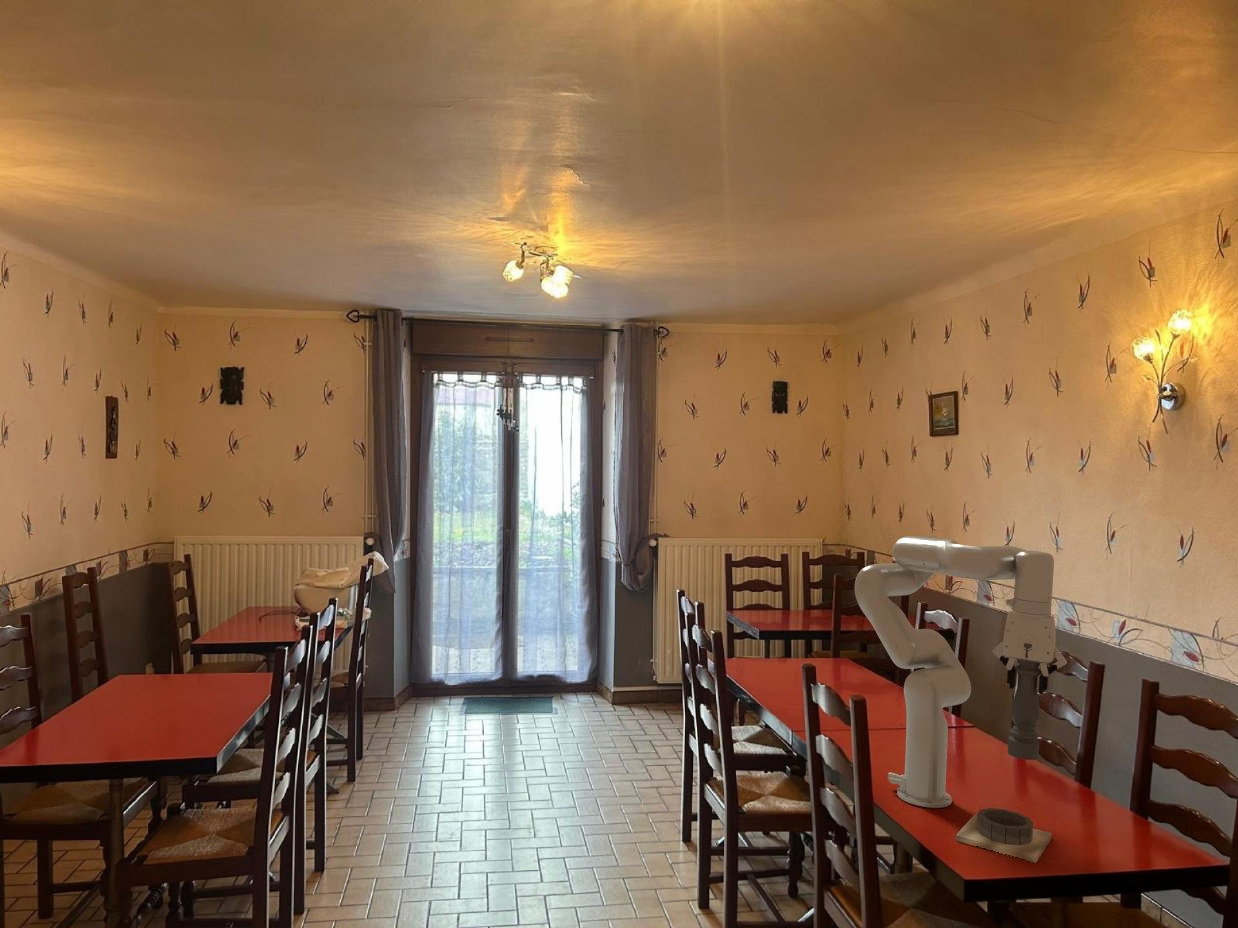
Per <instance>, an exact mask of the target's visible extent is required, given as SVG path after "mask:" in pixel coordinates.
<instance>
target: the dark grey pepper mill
mask: <svg viewBox="0 0 1238 928" xmlns="http://www.w3.org/2000/svg"><path fill="white" fill-rule="evenodd" d="M1024 647H1025V648H1026V650H1025V649H1024V650H1025V651H1026V653H1025V658H1028V651H1030V650H1028V649H1029V648H1032V644H1028V643H1024ZM1031 650H1032V649H1031ZM1017 663H1018V665H1016V666H1015V670H1016V673H1017V675H1018V678H1017V688H1016V690H1015V693H1014V697H1013V700H1012V703H1011V706H1010V710H1009V711H1010V715H1011V718H1012V720H1013V724H1014V725H1013V726H1012V727H1011V728H1010V732H1009V734H1010V735H1009V736H1008V739H1007V740H1008V741H1007V754H1008V755H1010V756H1011V757H1013V758H1017V759H1020V760H1025V761H1035V760H1038V759H1039V754H1040V753H1039V751H1040V741H1039V740H1038V739H1039V734H1038V732H1037V730H1036V729H1035V728H1036V727H1037V724H1038V723H1039V721H1040V719H1041V716H1042V713H1041V707H1040V701H1039V696H1038V695H1039V694H1038V690H1037V688H1038V677H1039V676H1040V675H1041V673H1042V670H1041V668H1039V666H1040V663H1038V662H1032V661H1028V660H1020V659H1017Z"/></svg>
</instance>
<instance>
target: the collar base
mask: <svg viewBox="0 0 1238 928" xmlns="http://www.w3.org/2000/svg"><path fill="white" fill-rule="evenodd" d="M1052 834H1053V833H1052V832H1049V831H1044V830H1041V829H1037V828H1034V822H1033V821H1032V820H1031V819H1030V818H1029V817H1028V816H1026V815H1023V814H1022V813H1019V812H1017V811H1013V810H1009V809H1004V808H994V807H988V808H981V809H980V810H979V811H977V813H974V814H973V816H971V818H970V819H969V820H968V821H967V822H966V823H965V824H964V825H963V827H962V828H961V829H959V831H958V832H957V833H956V834H955V841H956V842H959V843H962V844H966V845H969V846H974V847H976V846H979V847H978V848H980V847H981V848H980V849H983V848H986V849H985V850H987V849H988V851H990V850H993V851H992V852H994V851H995V852H996V853H997V852H999V853H998V854H1001V853H1002V855H1005V854H1007V855H1006V856H1008V855H1011V856H1010V857H1012V856H1014V857H1013V858H1015V857H1019V858H1021V859H1020V860H1022V859H1025V860H1024V861H1026V860H1027V861H1026V862H1029V861H1030V862H1029V863H1033V862H1034V863H1033V864H1037V863H1038V861H1039V860H1040V858H1041V856H1042V855H1043V853H1044V851H1045V850H1046V848H1047V847H1046V846H1048V845H1049V843H1050V842H1051V840H1052ZM995 852H994V853H995ZM1039 857H1040V858H1039ZM1019 858H1018V859H1019ZM1038 859H1039V860H1038ZM1036 862H1037V863H1036Z"/></svg>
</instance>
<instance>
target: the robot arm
mask: <svg viewBox="0 0 1238 928" xmlns="http://www.w3.org/2000/svg"><path fill="white" fill-rule="evenodd" d="M891 556H892V558H893V560H894V562H895V563H893V562H891V563H887V562H886V563H885V562H884V563H874V564H870V565H867V566H865V567H863V568H861V569H860V570H859V572H858V573H857V575H856V578H855V581H854V595H855V599H856V601H857V604H858V606H859V608H860V610H861V611H862V613H863V615H865V617H866V619H867V620H868V621H869V622H870V624H871V625H872V627H873V628H874V631H875V632H876V634H877V636H878V638H879V640H880V642H881V643H882V645H883V647H884V649H885V650H886V652H887V654H888V656H889V657H890V659H891V661H892V662H893V664H895V666H896V667H898V668H900V669H903V670H911V669H917V670H915V671H912V672H911V673H910V674H909V675H908V676H907V677H906V679H905V681H904V685H903V694H904V700H905V707H906V730H905V732H906V734H905V736H906V737H905V757H904V758H905V759H904V760H905V761H904V774H903V773H902V774H901V775H900V774H897V773H895V772H890V771H889V772H888V774H887V780H888V782H889V783H890V784H893V785H898V788H897V789H896V794H897V796H898V798H900V799H901V800H902V801H904V802H906V803H907V804H911V805H914V806H918V807H924V808H930V809H942V808H946V807H947V808H948V807H949V806H950V805H951V804H952V800H953V798H952V796H951V795H950V794H949V793H948V792H946V785H947V784H946V783H947V781H946V779H947V761H948V760H947V759H948V758H947V757H948V735H949V733H948V722H947V719H946V716H945V714H944V710H943V709H944V708H947V707H950V706H951V707H952V706H958V705H960V704H963V703H965V702H966V701H967V700H968V699H969V698H970V696H971V694H972V693H971V692H972V685H971V681H970V677H969V675H968V673H967V672H966V670H965V668H964V666H963V665H962V664H961V662H960V660H959V659H958V657H957V655H956V654H955V652H954V651H953V650H952V647H951V646H950V644H949V643H948V641H947V640H946V638H945V637H944V636H942V634H940V633H939V632H938V631H936V630H934V629H931V628H921V629H919V628H917V629H916V628H915V627H913V625H912V624H911V623H910V621H909V619H908V618H907V615H906V614H905V613H904V612H903V610H902V609H901V608H900V607H899V606H898V605H897V604H896V603H895V602H893V601H892V600H891V599H890V598H889V597H899V596H900V597H901V596H909V595H911V594H914V593H915V592H917V591H919V589H920V588H921V587H923V586H924V585H925V584H926V583H927V582H928V581H929V580H930V579H931V578H932V577H934V575H935V574H941V575H947V576H951V577H955V578H961V579H962V578H963V579H969V580H977V581H999V580H1000V581H1001V580H1002V581H1003V580H1007V581H1008V580H1014V584H1013V585H1014V588H1013V597H1012V598H1010V599H1008V598H1007V599H1006V601H1005V606H1009V607H1011V609H1012V610H1009V611H1008V613H1007V617H1006V621H1005V627H1004V633H1003V640H1002V641H1001V642H1000V643H998V645H996V646H995V647H994V648H993V649H992V650H991V651H992V653H993V654H994V656H995V657H996V658H998V659H999V661H1000V662H1001V663H1002V664H1003V666H1004V667H1005V669H1007V673H1006V674H1007V675H1006V683H1007V684H1009V690H1010V689H1012V690H1013V689H1014V688H1015V687H1016V686H1017V685H1016V683H1017V671H1016V670H1015V667H1016V666H1015V665H1016V663H1017V662H1018V660H1017V659H1020V660H1028V661H1032V662H1038V663H1040V664H1039V666H1040V670H1041V674H1040V675H1039V676H1038V677H1039V679H1038V695H1043V694H1044V693H1045V691H1048V686H1049V676H1050V675H1051V674H1052V673H1055V671H1057V670H1058V669H1060V668H1062V667H1064V666H1066V664H1068V661H1067V659H1066V658H1065V657H1064V655H1063V654H1062V653H1061V651H1060V650H1059V648H1058V647H1057V637H1056V636H1057V633H1056V632H1057V631H1056V623H1055V622H1056V621H1055V616H1054V615H1051V614H1052V599H1053V587H1054V584H1053V583H1054V571H1055V570H1054V569H1055V559H1054V556H1053V555H1052V554H1051V553H1049V552H1045V551H1038V550H1028V549H1027V550H1026V549H1023V548H1021V547H1017V546H1011V545H1003V546H1001V545H995V546H994V545H993V546H991V545H990V546H979V545H966V544H960V543H958V542H957V541H955V540H954V539H951V538H938V537H936V536H931V535H909V536H908V535H907V536H904V537H901V538H900V539H898V540H897V541H896V542H895V543H894V544H893V546H892V549H891ZM1024 643H1028V644H1032V648H1029V649H1028V650H1030V651H1028V658H1025V653H1026V651H1025V650H1026V648H1025V647H1024ZM1024 649H1025V650H1024ZM1031 649H1032V650H1031ZM1054 659H1055V660H1057V661H1056V662H1055V663H1052V662H1053V661H1054ZM1050 663H1052V664H1051V665H1049V664H1050ZM919 668H921V669H919Z"/></svg>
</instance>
